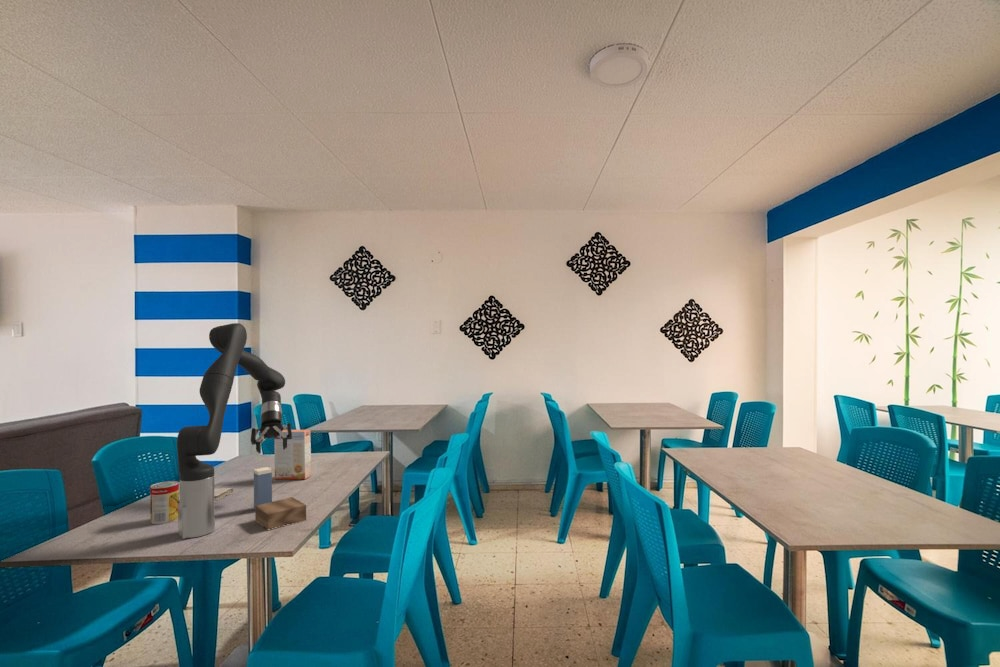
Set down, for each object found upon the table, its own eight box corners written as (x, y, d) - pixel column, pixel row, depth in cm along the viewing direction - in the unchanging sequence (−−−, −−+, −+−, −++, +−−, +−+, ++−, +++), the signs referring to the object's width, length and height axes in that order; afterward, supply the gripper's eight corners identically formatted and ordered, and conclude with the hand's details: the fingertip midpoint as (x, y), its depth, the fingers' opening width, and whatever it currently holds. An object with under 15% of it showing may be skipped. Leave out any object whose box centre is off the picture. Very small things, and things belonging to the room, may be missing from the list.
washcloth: (172, 509, 173) (172, 501, 173) (204, 493, 191) (204, 486, 191) (204, 509, 173) (204, 500, 173) (234, 493, 191) (233, 485, 191)
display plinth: (268, 530, 151) (268, 514, 151) (255, 520, 159) (255, 505, 159) (306, 520, 159) (306, 504, 159) (292, 511, 168) (291, 497, 168)
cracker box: (311, 476, 212) (311, 429, 213) (304, 480, 206) (304, 431, 207) (281, 475, 214) (281, 429, 214) (274, 479, 208) (273, 431, 208)
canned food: (181, 514, 167) (181, 479, 167) (175, 522, 159) (175, 486, 160) (154, 517, 164) (154, 482, 164) (147, 525, 156) (147, 489, 157)
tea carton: (258, 511, 168) (258, 471, 168) (254, 508, 171) (253, 469, 172) (272, 508, 171) (271, 469, 171) (267, 505, 174) (267, 466, 175)
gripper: (250, 412, 186) (249, 448, 175) (290, 407, 191) (291, 441, 180) (253, 423, 191) (252, 458, 180) (291, 417, 196) (293, 452, 186)
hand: (271, 450), depth 180 cm, fingers open, 8 cm apart
